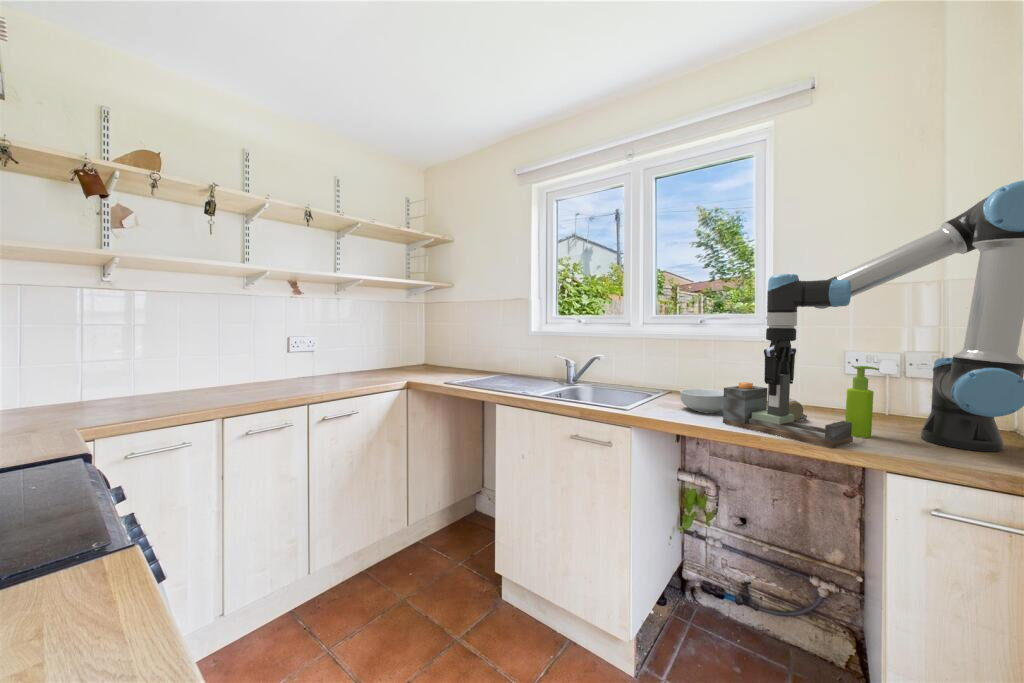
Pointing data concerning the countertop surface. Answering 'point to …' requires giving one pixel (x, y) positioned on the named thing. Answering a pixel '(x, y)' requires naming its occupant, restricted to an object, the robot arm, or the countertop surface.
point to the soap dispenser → (860, 404)
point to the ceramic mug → (796, 410)
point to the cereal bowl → (703, 399)
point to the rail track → (747, 401)
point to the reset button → (745, 385)
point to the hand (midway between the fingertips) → (778, 405)
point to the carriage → (782, 412)
